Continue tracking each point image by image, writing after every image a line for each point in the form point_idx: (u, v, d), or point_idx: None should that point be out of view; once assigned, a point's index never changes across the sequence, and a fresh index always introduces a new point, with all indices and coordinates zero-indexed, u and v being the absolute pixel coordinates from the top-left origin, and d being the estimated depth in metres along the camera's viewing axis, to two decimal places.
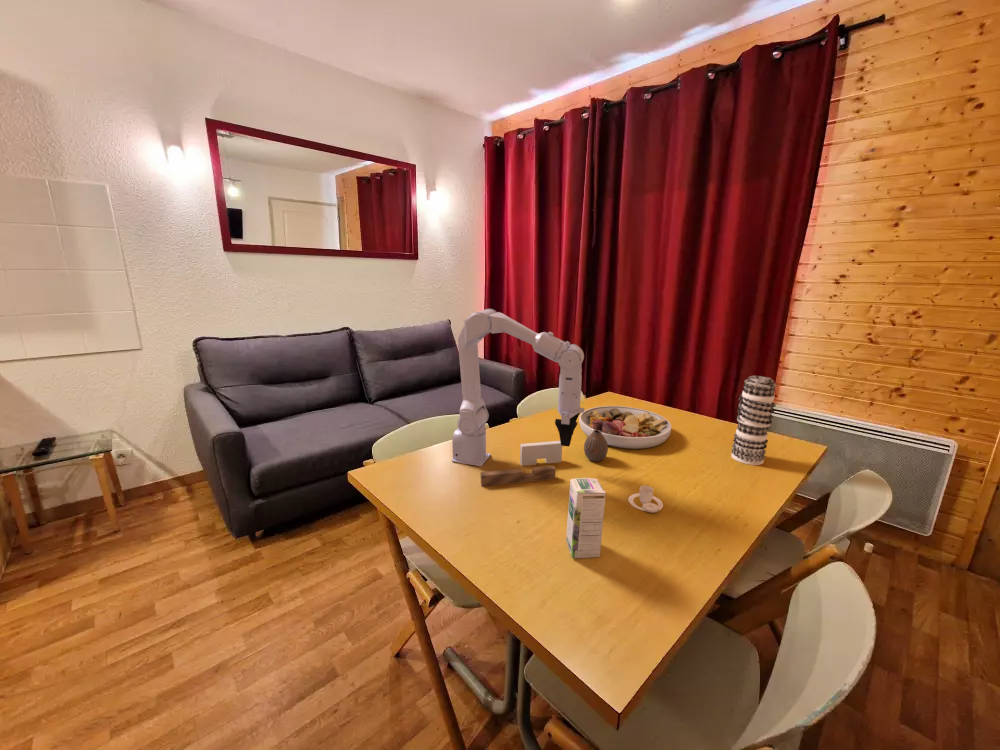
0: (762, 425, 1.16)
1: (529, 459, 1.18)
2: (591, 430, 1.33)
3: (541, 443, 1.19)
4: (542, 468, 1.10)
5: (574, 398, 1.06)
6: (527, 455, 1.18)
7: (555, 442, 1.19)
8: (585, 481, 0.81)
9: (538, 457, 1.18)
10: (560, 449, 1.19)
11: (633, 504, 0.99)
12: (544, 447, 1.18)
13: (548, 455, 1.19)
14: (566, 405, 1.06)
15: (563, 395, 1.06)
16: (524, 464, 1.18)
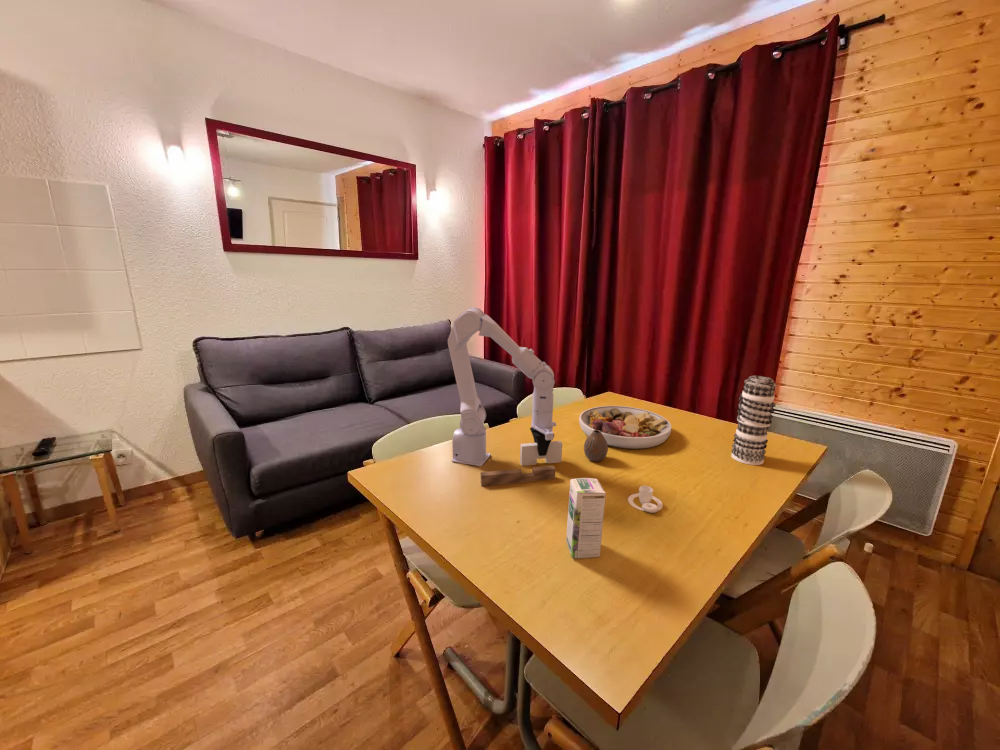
0: (762, 425, 1.16)
1: (529, 459, 1.18)
2: (591, 430, 1.33)
3: None
4: (542, 468, 1.10)
5: (550, 414, 1.14)
6: (527, 455, 1.18)
7: (555, 442, 1.19)
8: (585, 481, 0.81)
9: (538, 457, 1.18)
10: (560, 449, 1.19)
11: (633, 504, 0.99)
12: None
13: (548, 455, 1.19)
14: (544, 422, 1.14)
15: (540, 413, 1.13)
16: (524, 464, 1.18)
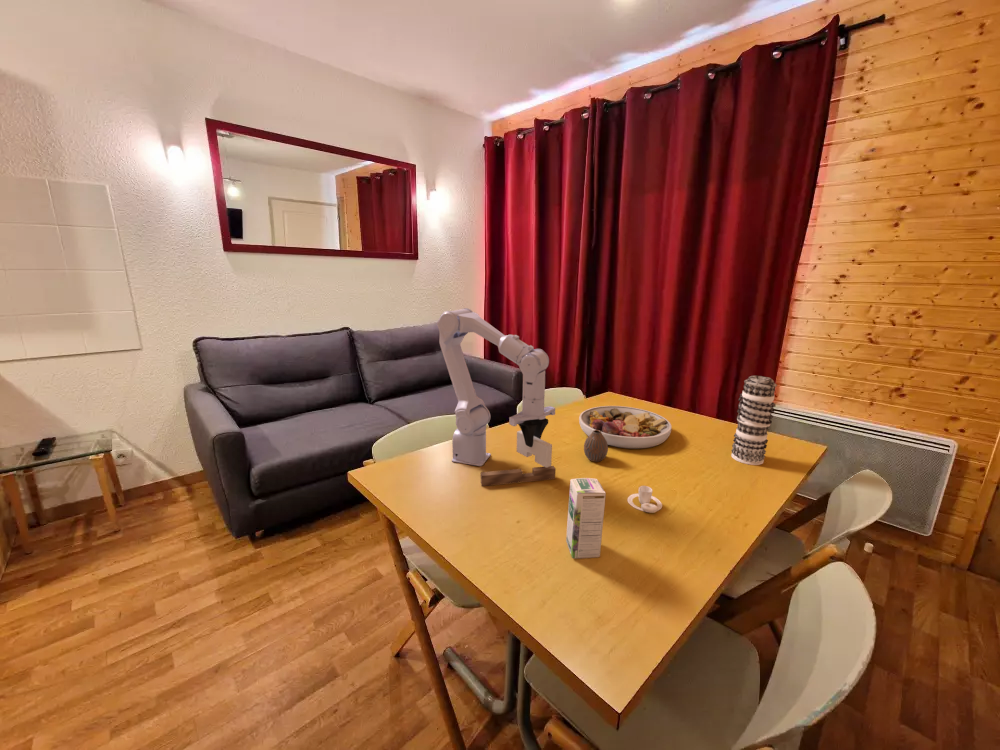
0: (762, 425, 1.16)
1: (521, 448, 1.13)
2: (591, 430, 1.33)
3: (534, 437, 1.10)
4: (542, 468, 1.10)
5: (530, 403, 1.05)
6: (520, 443, 1.13)
7: (544, 443, 1.07)
8: (585, 481, 0.81)
9: (528, 450, 1.11)
10: (545, 452, 1.06)
11: (632, 504, 0.99)
12: None
13: (536, 453, 1.09)
14: (524, 408, 1.07)
15: None
16: (518, 451, 1.15)
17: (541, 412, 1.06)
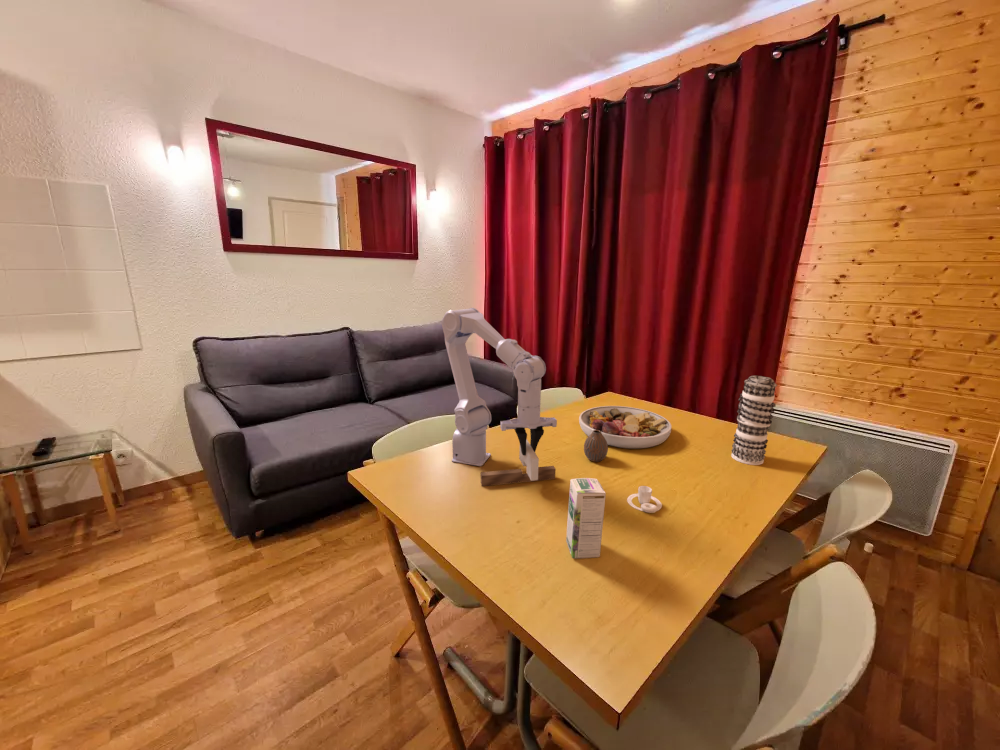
0: (762, 425, 1.16)
1: (521, 456, 1.12)
2: (591, 430, 1.33)
3: (528, 448, 1.07)
4: (542, 468, 1.10)
5: (521, 410, 1.03)
6: None
7: (533, 455, 1.03)
8: (585, 481, 0.81)
9: (524, 459, 1.09)
10: (530, 465, 1.02)
11: (632, 504, 0.99)
12: None
13: (527, 464, 1.06)
14: None
15: None
16: (520, 458, 1.14)
17: (533, 421, 1.03)
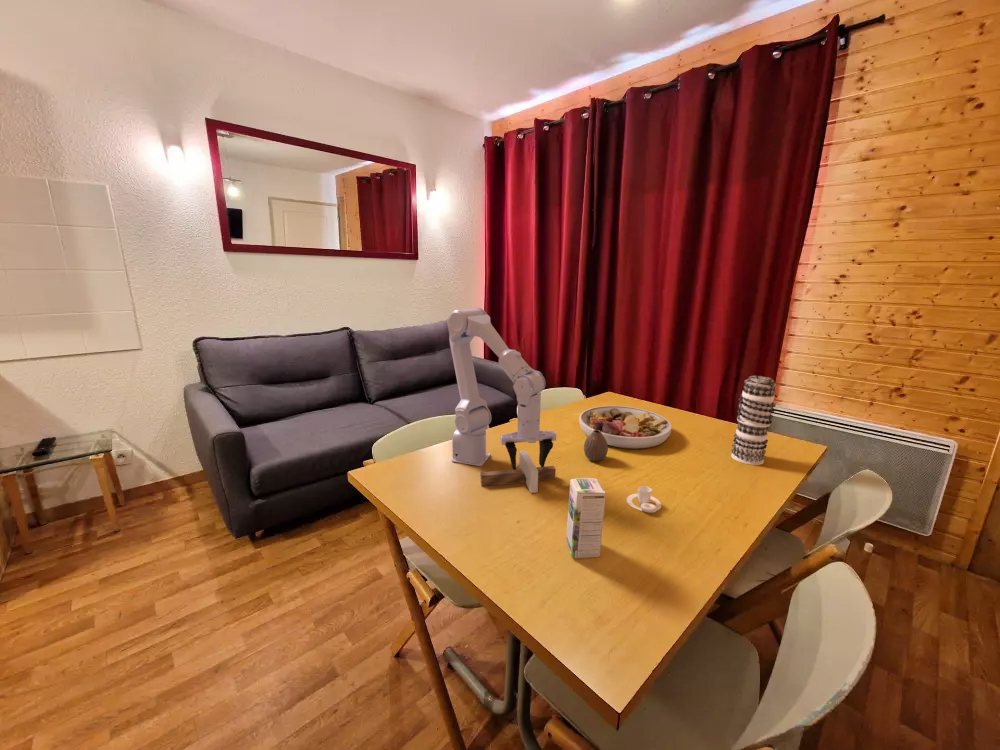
0: (762, 425, 1.16)
1: (521, 468, 1.13)
2: (591, 430, 1.33)
3: (528, 460, 1.08)
4: (542, 468, 1.10)
5: (521, 424, 1.04)
6: (520, 463, 1.13)
7: (532, 467, 1.04)
8: (585, 481, 0.81)
9: (523, 471, 1.10)
10: (530, 477, 1.03)
11: (631, 504, 0.99)
12: (525, 464, 1.08)
13: (526, 476, 1.07)
14: None
15: None
16: None
17: (532, 436, 1.04)
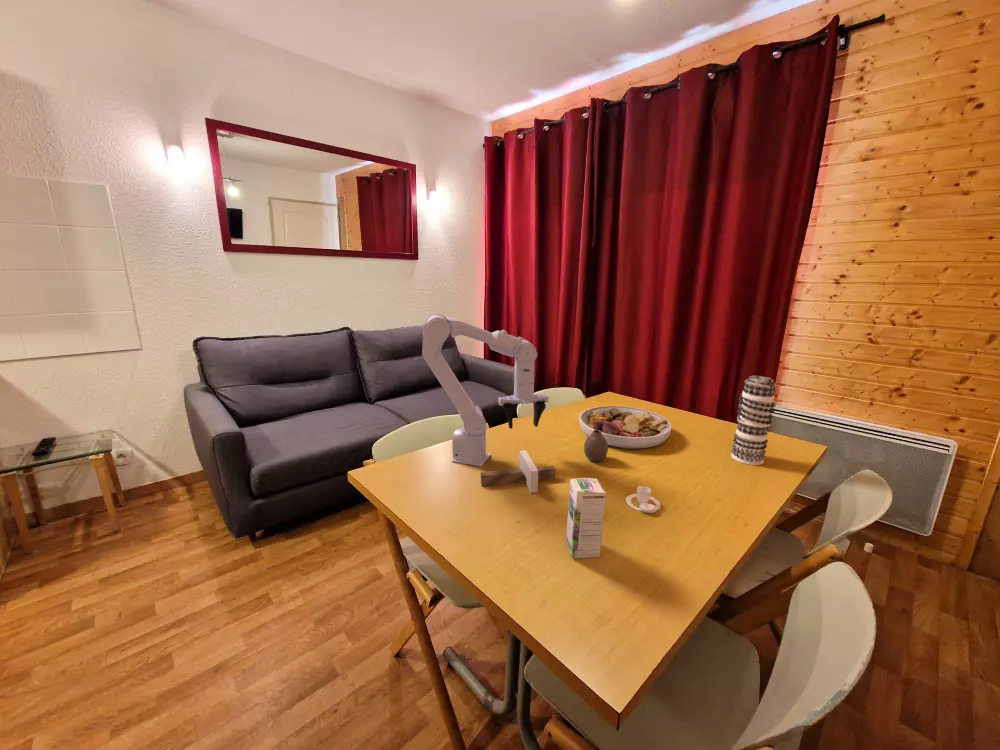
0: (762, 425, 1.16)
1: (521, 468, 1.13)
2: (591, 430, 1.33)
3: (528, 460, 1.08)
4: (542, 468, 1.10)
5: (517, 387, 1.17)
6: (520, 463, 1.13)
7: (532, 467, 1.04)
8: (585, 481, 0.81)
9: (523, 471, 1.10)
10: (530, 477, 1.03)
11: (630, 504, 0.99)
12: (525, 464, 1.08)
13: (526, 476, 1.07)
14: (514, 392, 1.19)
15: None
16: None
17: (527, 397, 1.17)
